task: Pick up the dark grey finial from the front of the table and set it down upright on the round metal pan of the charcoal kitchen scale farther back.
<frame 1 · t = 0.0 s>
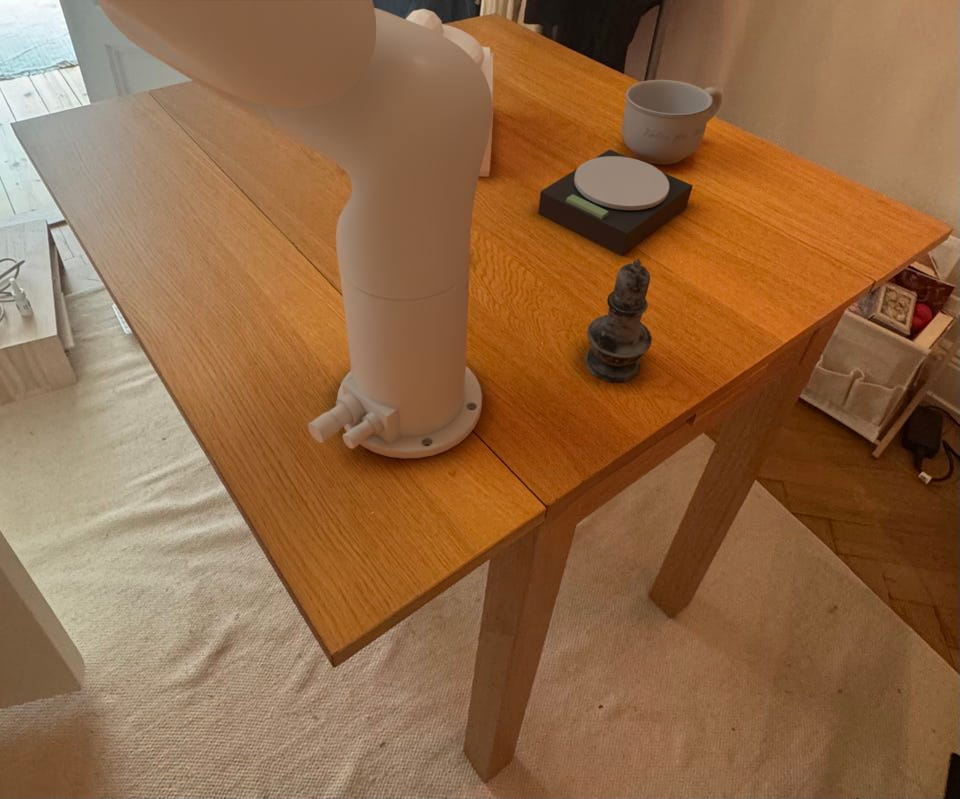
teacup: (666, 153, 98), on the table
scale: (613, 210, 88), on the table
dark grey finial: (612, 364, 70), on the table
butter dish: (422, 140, 98), on the table
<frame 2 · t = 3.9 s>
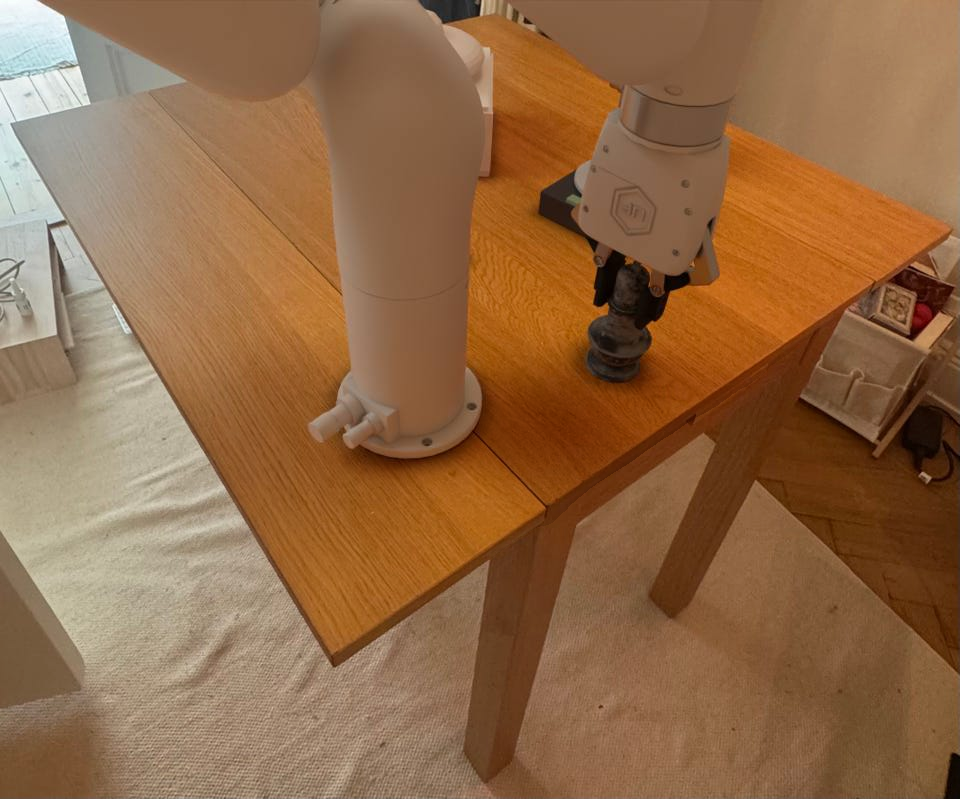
hand: (626, 308, 65), 7 cm above the table, tool pointing down, fingers closed on dark grey finial, 3 cm apart
dark grey finial: (612, 364, 70), on the table, touching gripper
everything else where it was.
when the fingers open (10 cm above the table, at t = 10.3 s): dark grey finial stays where it is, resting on scale.
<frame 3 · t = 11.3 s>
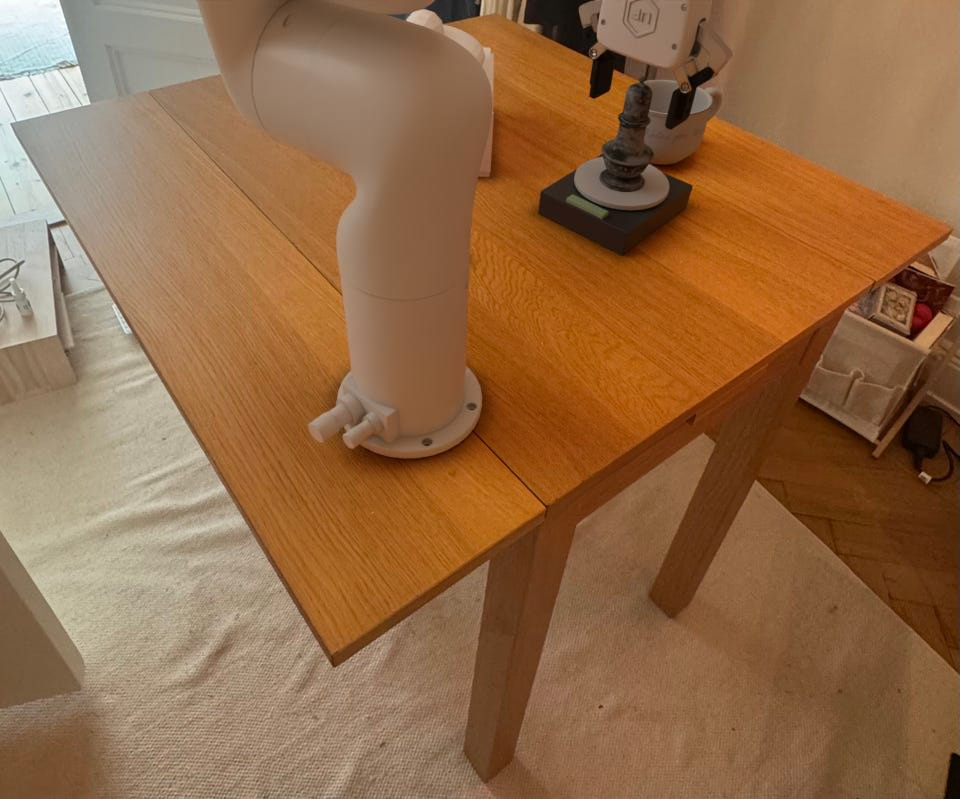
hand: (636, 109, 79), 12 cm above the table, tool pointing down, fingers open, 9 cm apart
dark grey finial: (621, 181, 85), point 4 cm above the table, touching scale
everything else where it was.
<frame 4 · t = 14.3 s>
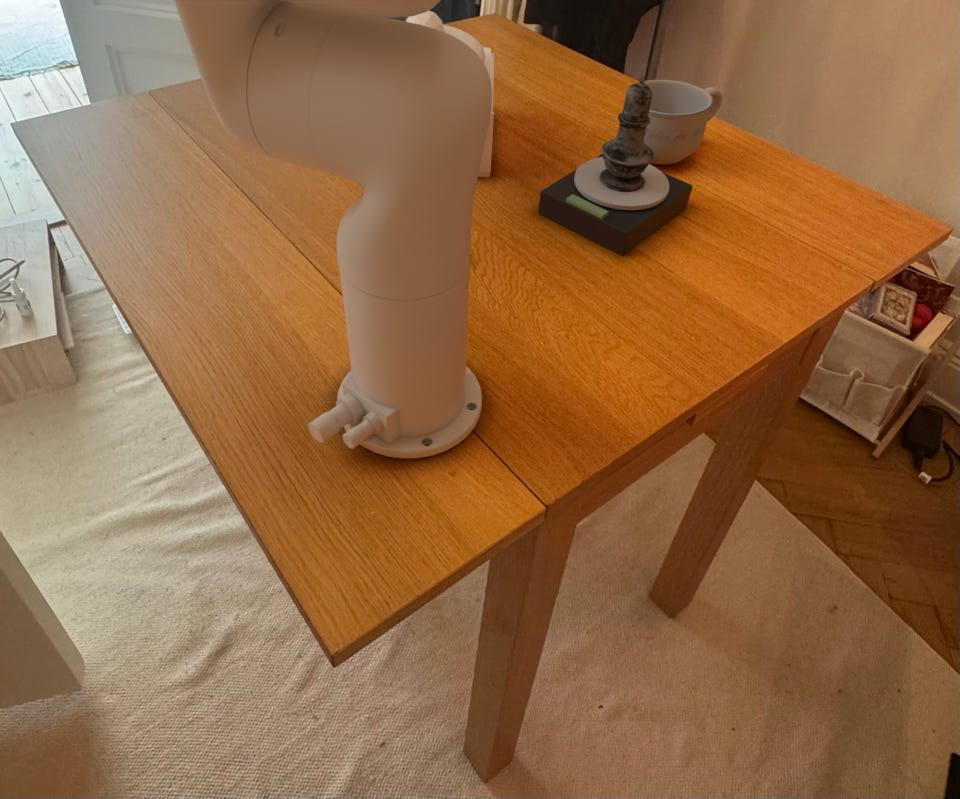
nothing on the table moved.
at the end: dark grey finial inside the target area on the scale (0.1 cm from its centre), point 3.6 cm above the scale's base; dark grey finial tilted 0°; the gripper is holding nothing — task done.
